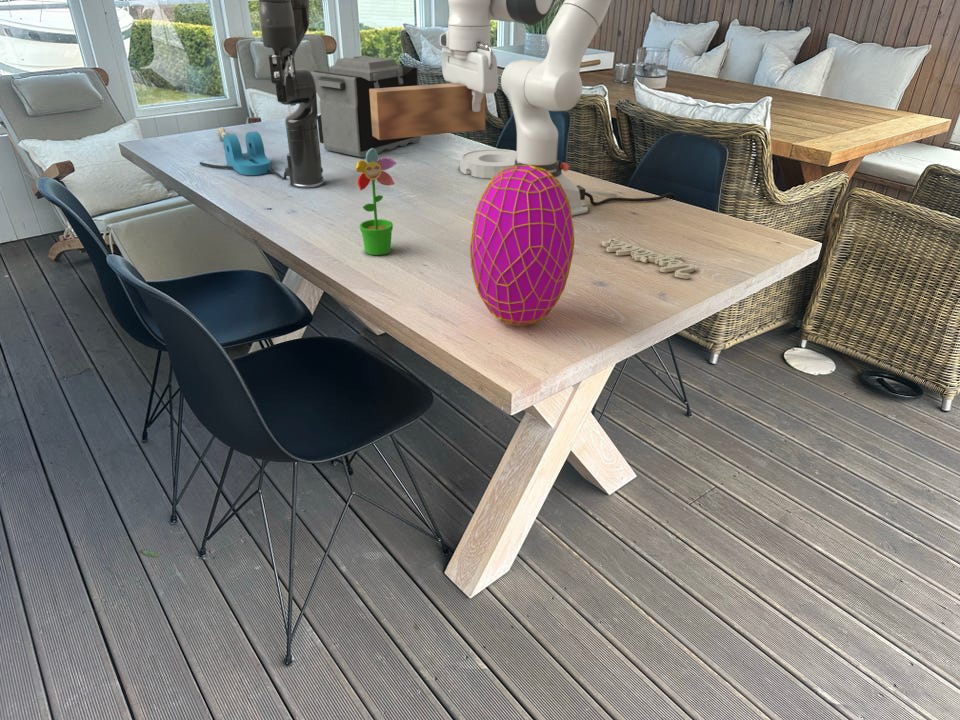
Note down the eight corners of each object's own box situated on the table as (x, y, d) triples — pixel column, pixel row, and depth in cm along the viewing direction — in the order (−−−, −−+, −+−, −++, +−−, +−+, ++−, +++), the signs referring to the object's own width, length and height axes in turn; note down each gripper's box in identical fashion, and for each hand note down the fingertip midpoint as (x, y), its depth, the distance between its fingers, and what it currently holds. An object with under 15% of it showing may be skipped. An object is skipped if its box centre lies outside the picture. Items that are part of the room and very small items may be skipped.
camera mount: (227, 164, 233) (221, 132, 227) (257, 160, 238) (252, 129, 233) (244, 176, 220) (239, 143, 215) (276, 172, 225) (271, 139, 220)
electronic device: (383, 133, 276) (378, 52, 261) (425, 141, 265) (422, 56, 250) (314, 150, 251) (304, 61, 235) (358, 160, 240) (350, 67, 224)
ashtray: (461, 159, 242) (461, 148, 240) (527, 160, 241) (527, 149, 239) (457, 177, 222) (457, 165, 220) (529, 179, 221) (529, 166, 219)
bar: (379, 140, 143) (376, 92, 138) (372, 135, 147) (369, 88, 142) (485, 129, 153) (485, 84, 148) (476, 125, 156) (476, 81, 152)
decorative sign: (710, 264, 159) (686, 276, 153) (709, 268, 159) (685, 280, 153) (618, 234, 175) (593, 244, 169) (618, 238, 176) (593, 247, 170)
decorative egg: (525, 353, 124) (534, 190, 109) (449, 319, 135) (447, 167, 120) (586, 318, 136) (602, 167, 121) (512, 290, 148) (517, 148, 132)
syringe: (218, 132, 274) (216, 125, 272) (227, 131, 275) (226, 124, 274) (222, 147, 254) (220, 139, 252) (232, 146, 255) (231, 138, 254)
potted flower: (366, 259, 162) (357, 151, 149) (355, 248, 168) (346, 144, 155) (403, 252, 166) (398, 147, 153) (391, 242, 172) (385, 139, 159)
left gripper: (287, 26, 150) (296, 104, 159) (300, 21, 163) (308, 93, 171) (252, 26, 150) (263, 104, 159) (268, 21, 163) (278, 93, 171)
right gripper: (506, 44, 138) (504, 116, 145) (461, 35, 153) (462, 100, 160) (478, 45, 135) (477, 118, 142) (436, 36, 151) (437, 102, 158)
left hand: (286, 98), depth 165 cm, fingers open, 8 cm apart
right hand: (469, 108), depth 151 cm, fingers closed on bar, 4 cm apart
